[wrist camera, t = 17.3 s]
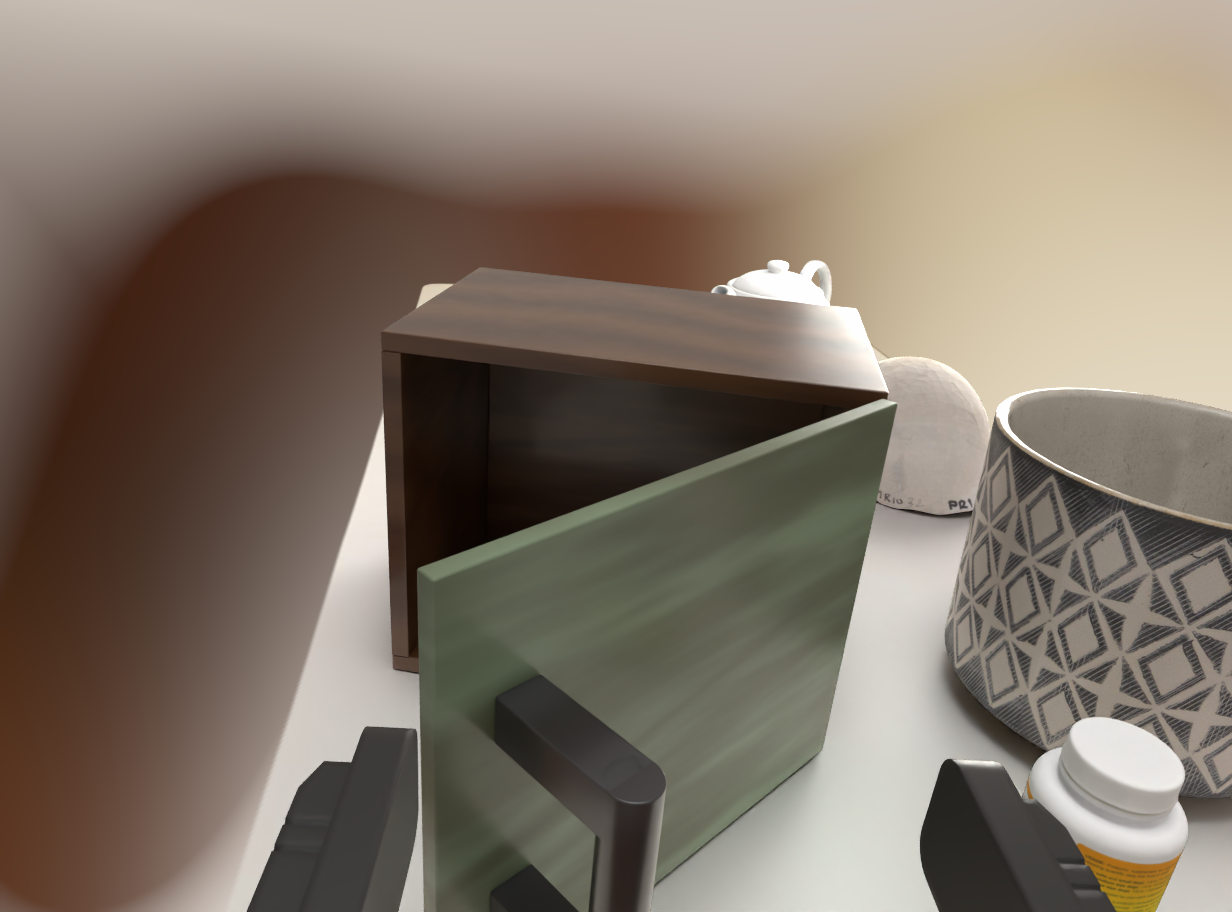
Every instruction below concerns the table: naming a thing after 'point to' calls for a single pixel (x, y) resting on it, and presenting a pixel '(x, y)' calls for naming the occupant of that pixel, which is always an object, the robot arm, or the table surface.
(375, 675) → the table surface
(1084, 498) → the planter
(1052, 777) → the supplement bottle
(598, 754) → the cupboard door
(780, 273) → the teapot
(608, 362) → the cupboard
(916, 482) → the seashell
